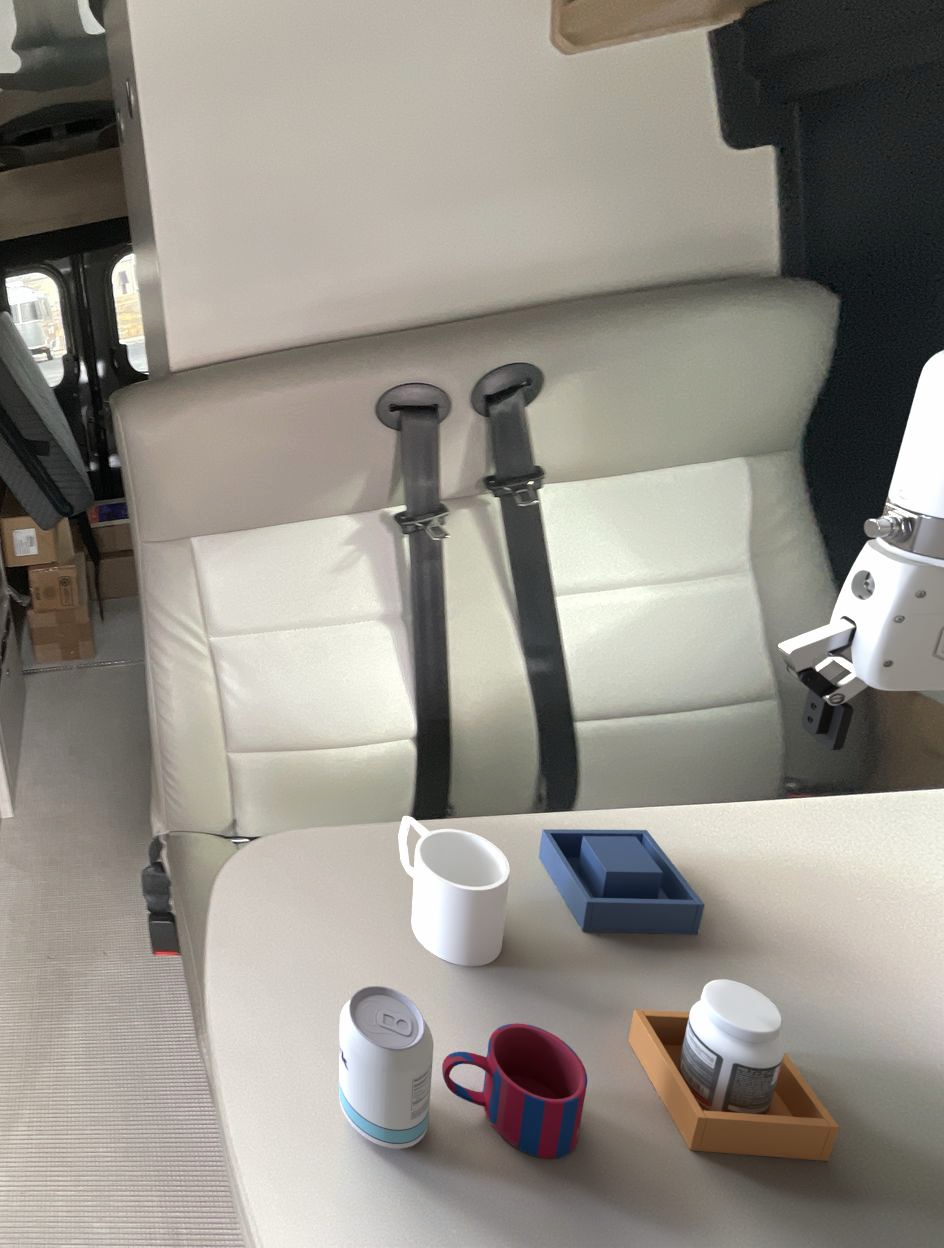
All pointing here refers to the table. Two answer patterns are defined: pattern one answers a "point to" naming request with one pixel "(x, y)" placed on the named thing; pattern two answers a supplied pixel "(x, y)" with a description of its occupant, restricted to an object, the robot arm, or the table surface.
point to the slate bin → (663, 915)
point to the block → (618, 868)
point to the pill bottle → (732, 1049)
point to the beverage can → (385, 1067)
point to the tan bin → (783, 1132)
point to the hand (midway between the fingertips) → (897, 738)
